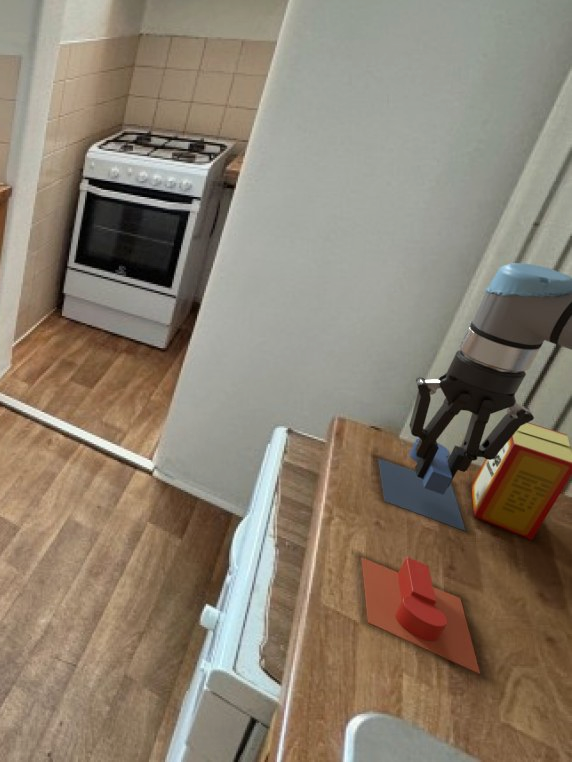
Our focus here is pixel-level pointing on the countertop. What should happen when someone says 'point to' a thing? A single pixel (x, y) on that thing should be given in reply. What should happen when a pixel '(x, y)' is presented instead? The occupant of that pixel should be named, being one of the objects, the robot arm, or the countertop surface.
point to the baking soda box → (523, 480)
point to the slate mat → (418, 495)
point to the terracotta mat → (381, 613)
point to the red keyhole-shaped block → (419, 602)
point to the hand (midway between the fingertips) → (431, 477)
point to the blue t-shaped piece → (436, 470)
